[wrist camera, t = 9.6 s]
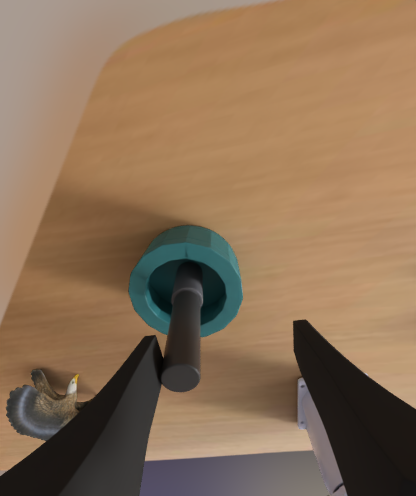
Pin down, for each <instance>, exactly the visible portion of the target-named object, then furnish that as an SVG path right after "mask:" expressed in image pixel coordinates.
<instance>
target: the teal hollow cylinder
mask: <svg viewBox="0 0 416 496" xmlns="http://www.w3.org/2000/svg"><path fill="white" fill-rule="evenodd" d="M185 262H194V263H196V264H198V265H199V266H200V267H201V269H202V275H203V304H202V306H201V308H200V337H206V336H208V335H211V334H213V333H215V332H217V331H220V330H222V329H224V328H225V327H226V326H227V325H228V324H229V323H230V322H231V321H232V320H233V319H234V318H235V317H236V315H237V313H238V310H239V308H240V305H241V302H242V300H243V293H242V284H241V277H240V272H239V267H238V262H237V258H236V256H235V254H234V252H233V250H232V248H231V247H230V245H229V244H228V243H227V242H226V241H225V239H223V238H222V237H221V236H220V235H218V234H217V233H215V232H213V231H211V230H209V229H206V228H203V227H199V226H190V225H186V226H178V227H174V228H171V229H168V230H166V231H164V232H163V233H161V234H160V235H158V236H157V237H156V238H155V239H154V240H153V241H152V242H151V244H150V245H149V247H148V248H147V250H146V251H145V253H144V254H143V256H142V257H141V259H140V260H139V262H138V263H137V265H136V266H135V268H134V269H133V271H132V272H131V275H130V283H129V291H128V292H129V295H130V298H131V301H132V304H133V307H134V310H135V311H136V312H137V313H138V314H139V316H140V317H141V318H142V319H143V320H144V321H145V322H146V323H147V324H148V325H149V326H150V327H152V328H154V329H156V330H158V331H159V332H161V333H163V334H166V335H168V330H169V324H170V319H171V313H172V308H173V305H172V302H171V298H172V293H173V288H174V283H175V278H176V273H177V269H178V267H179V266H180V265H181V264H183V263H185Z"/></svg>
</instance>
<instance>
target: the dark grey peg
mask: <svg viewBox="0 0 416 496" xmlns="http://www.w3.org/2000/svg"><path fill="white" fill-rule="evenodd" d="M171 302H172V305H173V308H172V313H171V319H170V324H169V330H168V336H167V341H166V347H165V352H164V358H163V364H162V369H161V375H160V379H161V382H162V384H163V385H164V386H165V387H166V388H167V389H169V390H171V391H174V392H187V391H190V390H192V389H194V388H195V387H196V386H197V385H198V383H199V381H200V308H201V306H202V304H203V275H202V269H201V267H200V266H199V265H198V264H196V263H194V262H185V263H183V264H181V265H180V266H179V267H178V269H177V273H176V278H175V283H174V288H173V293H172V298H171Z"/></svg>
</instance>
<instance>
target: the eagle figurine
mask: <svg viewBox="0 0 416 496" xmlns="http://www.w3.org/2000/svg"><path fill="white" fill-rule="evenodd" d="M31 375H32V377H31V379H32V380H33V382H34V385H35V388H34V387H32V386H29V385H23V387H22V388H19V387H17V388H16V389H15V390H14V391H10V398H9V399H8V400H7V407H6V410H7V414H6V416H7V417H8V418H9V422H10V423H11V426H13V427H14V429H15V430H17V431H16V432H17V433H20V434H21V435H27V436H30V437H33V438H38V439H41V440H45V441H47V440H49V439H50V438H51V437H52V436H53V435H54V434H56V433H57V432H58V431H59V430H60V429H61V428H63V427H64V426H65V425H66V424H67V423H68V422H69V421H70V420H71V419H72V418H74V417H75V416H76V415H77V414H78V413H79V412H80V411H81V410H82V409H83V408H84V407H85V406H86V405H87V404H88V403H89V402H90V401H91V400H92V399H91V400H89V401H86V402H77V392H76V385H77V378H78V376H79V374H76V375H75V376H74V378H73V379H72V380H71V381H70V383H69V385H68V388H67V392H66V394H65V395H59V394H57V393H56V392H55V391H54V390H53V389H52V387H51V386H50V384H49V383H48V381H47V380H46V377H45V376H44V373H43V372H42V370H41V369H40V370H38V369H36V370H32V372H31Z"/></svg>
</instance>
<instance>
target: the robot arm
mask: <svg viewBox="0 0 416 496" xmlns="http://www.w3.org/2000/svg"><path fill="white" fill-rule="evenodd" d="M293 336H294V353H295V356H296V360H297V363H298V366H299V369H300V372H301V374H302V377H303V378H300V379H298V427H299V429H307V431H308V435H309V438H310V441H311V444H312V447H313V450H314V453H315V456H316V459H317V462H318V465H319V468H320V471H321V474H322V478H323V480H324V483H325V486H326V488H327V490H328V491H329V493H330V495H328V496H416V409H415V408H413V407H412V406H410V405H409V404H407V403H406V402H404V401H402V400H401V399H399V398H398V397H396V396H395V395H393V394H392V393H390V392H389V391H388V390H386V389H385V388H383V387H382V386H380V385H379V384H378V383H376V382H375V381H374V380H372V379H371V378H370V377H369V376H368V375H367V374H366V373H363V372H362V371H361V370H360V369H358V368H357V367H356V366H355V365H354V364H352V363H351V362H350V361H349V360H348V359H346V358H345V357H344V356H343V355H342V354H341V353H340V352H339V351H338V350H336V349H335V348H334V347H333V346H332V345H331V344H330V343H329V342H328V341H327V340H326V339H325V338H324V337H323V336H322V335H321V334H320V333H319V332H318V331H317V330H316V329H315V328H314V327H313V326H312V325H311V324H310V323H309V322H308V321H307V320H297V321H293ZM162 364H163V356H162V353H161V350H160V347H159V344H158V341H157V338H156V335H152V336H145V337H144V338H143V339H142V340H141V342H140V343H139V344H138V346H137V347H136V348H135V349H134V351H133V352H132V353H131V355H130V356H129V357H128V359H127V360H126V361H125V362H124V364H123V365H122V366H121V367H120V369H119V370H118V371H117V372H116V374H115V375H114V376H113V377H112V378H111V379H110V380H109V382H108V383H107V384H106V385H105V386H104V387H103V389H102V390H101V391H100V392H99V393H98V394H97V395H96V396H95V397H94V398H93V399H92V400H91V401H90V402H89V403H88V404H87V405H86V406H85V407H84V408H83V409H82V410H81V411H80V412H79V413H78V414H77V415H76V416H75V417H74V418H72V419H71V420H70V421H69V422H68V423H67V424H66V425H65V426H64V427H63V428H61V429H60V430H59V431H58V432H57V433H56V434H54V435H53V436H52V437H51V438H50V439H49V440H47V441H46V442H45V443H44V444H42V445H41V446H40V447H39V448H37V449H36V450H35V451H34V452H32V453H31V454H30V455H28V456H27V457H26V458H24V459H23V460H22V461H20V462H19V463H18V464H16V465H15V466H14V467H12V468H11V469H10V470H8V471H7V472H5V473H4V474H3V475H1V476H0V496H139V494H140V487H141V480H142V474H143V467H144V461H145V455H146V449H147V443H148V438H149V433H150V429H151V425H152V421H153V417H154V413H155V409H156V405H157V401H158V397H159V393H160V389H161V385H162V382H161V379H160V375H161V369H162Z"/></svg>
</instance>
